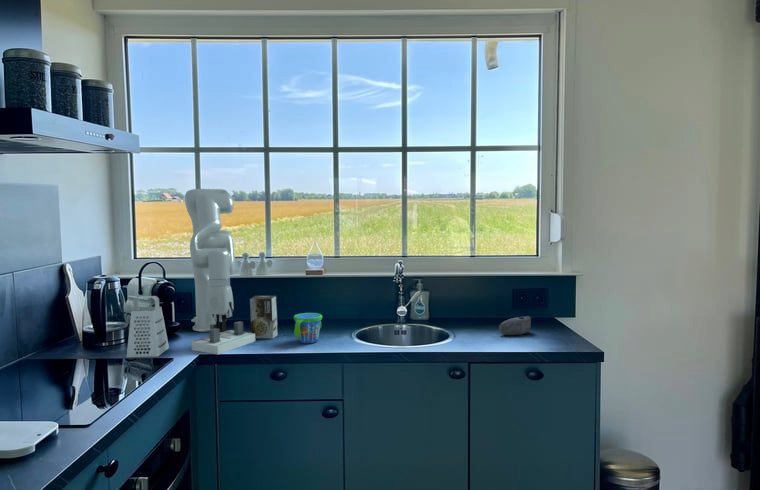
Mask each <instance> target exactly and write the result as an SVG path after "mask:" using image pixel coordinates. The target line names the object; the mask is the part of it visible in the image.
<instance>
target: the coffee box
mask: <svg viewBox="0 0 760 490" xmlns="http://www.w3.org/2000/svg"><path fill="white" fill-rule="evenodd" d="M277 301H278V299H277V295H254V296H253V297H250V298H249V307H250V333H254V334H255V339H274V338H275V337H277V336H278V309H277V308H278V305H277Z"/></svg>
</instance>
